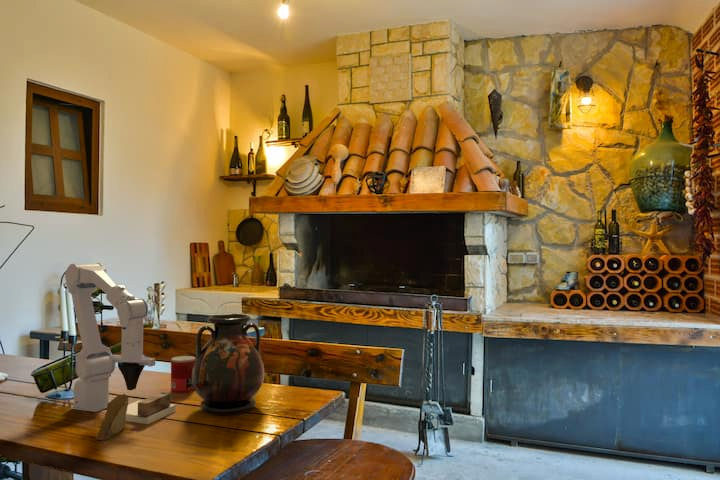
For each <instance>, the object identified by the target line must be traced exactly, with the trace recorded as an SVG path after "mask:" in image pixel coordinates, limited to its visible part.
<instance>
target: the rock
mask: <svg viewBox="0 0 720 480" xmlns="http://www.w3.org/2000/svg"><path fill="white" fill-rule="evenodd" d="M128 405H129V397H128V395H127V394H125V393H123V394H118V395H117V396H115V397H114V398H113V399H111V401H110V402H109V403H108V404H107V408H106V412H105V414H104V419H103V420H102V421H101V423H100V427H99V431H98V433H97V436H96V438H95V440H97V441H99V440H100V441H106V440H107V439H109V438H111V437H113V436H114V435H117V434H118V433H120V432H121V431H123V430H124V429H125V428H126V423H127V421H126V412H127V407H128Z"/></svg>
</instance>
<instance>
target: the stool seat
mask: <svg viewBox="0 0 720 480" xmlns="http://www.w3.org/2000/svg"><path fill="white" fill-rule="evenodd" d="M140 401H142V400H140V399H139V400H137V401H134V402H132V403H128V407H127V412H126V422H130V423H138V424H146V425H149V424H151V423H153V422H155V421H158V420H160V419H162V418H164V417H166V416H168V415H171V414H173V413H176V404H173V403H171V405H169V406H167V407H165V408H163V409H161V410H159V411H157V412H155V413H153V414H151V415H148V416H140V415H138V402H140Z"/></svg>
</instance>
